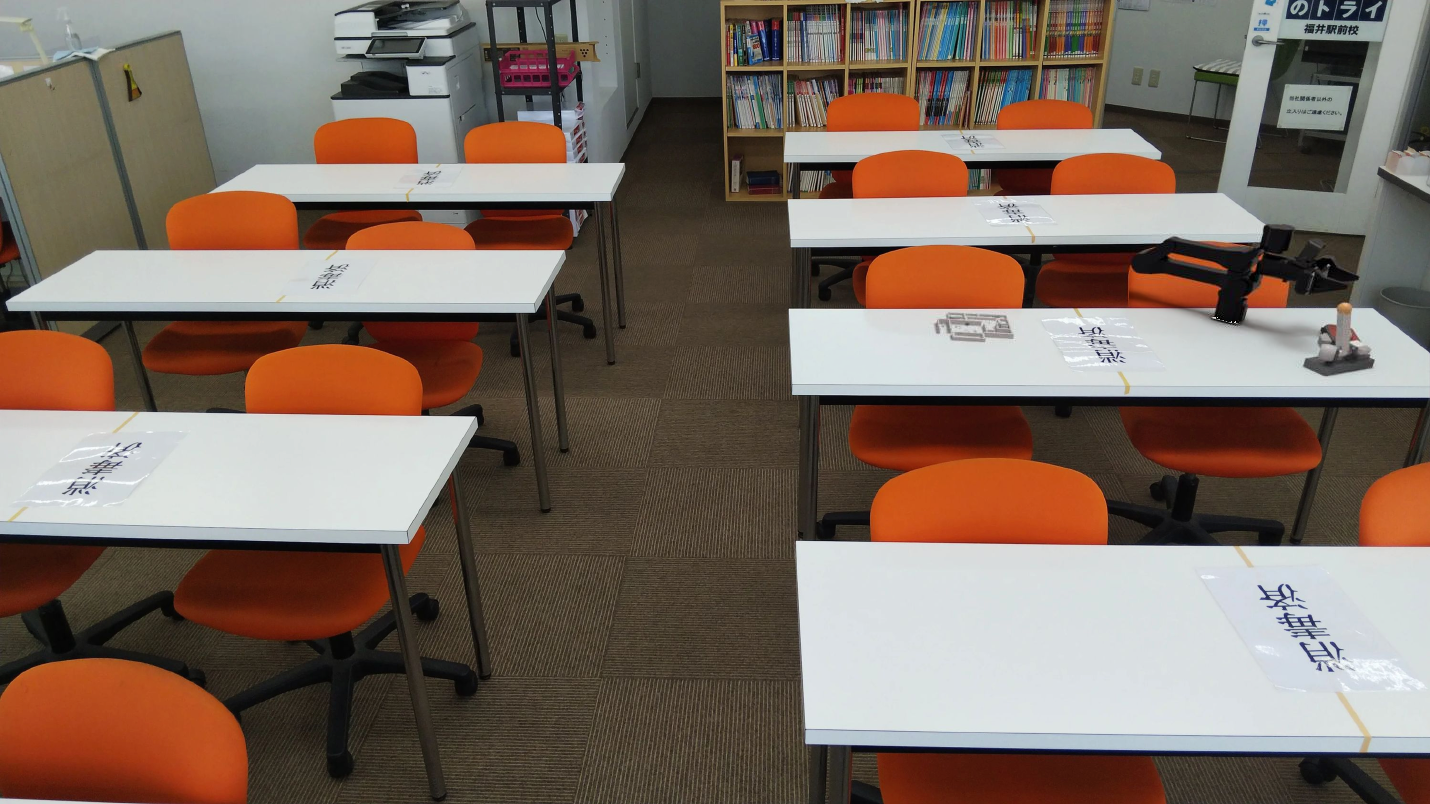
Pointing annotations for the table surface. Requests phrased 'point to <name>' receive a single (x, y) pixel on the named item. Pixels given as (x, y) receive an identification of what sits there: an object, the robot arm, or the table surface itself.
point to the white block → (1361, 347)
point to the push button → (1327, 352)
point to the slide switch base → (1340, 363)
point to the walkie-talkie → (1333, 335)
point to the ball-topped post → (1343, 329)
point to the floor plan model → (1001, 328)
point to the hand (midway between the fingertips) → (1353, 282)
